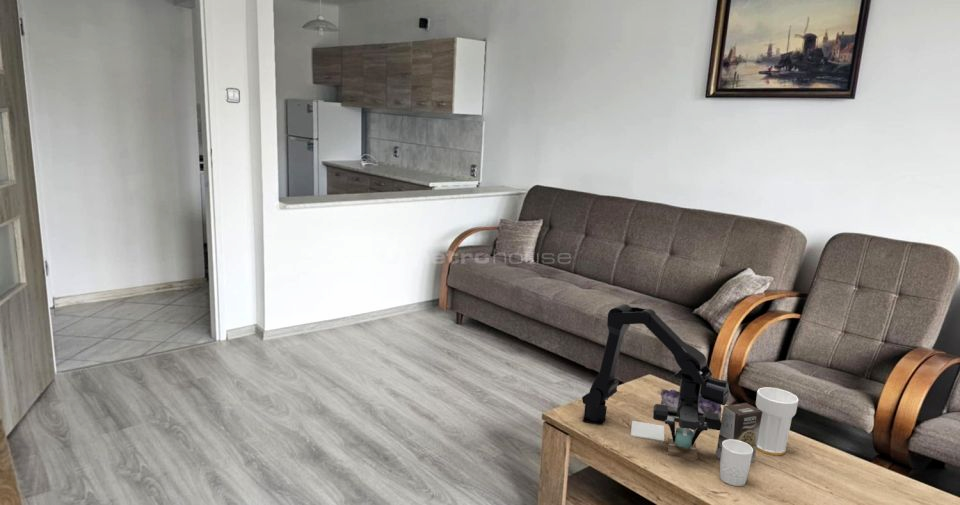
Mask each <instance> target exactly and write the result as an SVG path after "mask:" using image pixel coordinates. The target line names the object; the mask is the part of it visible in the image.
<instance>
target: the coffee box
mask: <svg viewBox="0 0 960 505" xmlns="http://www.w3.org/2000/svg"><path fill="white" fill-rule="evenodd" d="M722 408H723V409H722V412H721V429H720V430H719V432H718V440H717V446H716V452H715V456H716V457H717V458H718V459H720V460H721V451H722V442H723V441H724V440H728V439H734V440H739V441H742V442H745V443H747V444H749V445H750V446H751V447H752V448H753V454H752V458H751V463H754V462H755V459H756V458H755V457H756V453H757V449H756V447H757V441H758V435H759V429H760V423H761V417H762V411H761V410H759V409H758V408H757V407H755V406H753V405H752V404H749V403H748V402H742V403H736V404H730V405H723V406H722Z"/></svg>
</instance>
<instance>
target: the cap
mask: <svg viewBox="0 0 960 505" xmlns="http://www.w3.org/2000/svg"><path fill="white" fill-rule="evenodd" d="M692 437H693V430H691V429H688V428H681V427H677V428H675V442H674V443H675V444H676V445H677V446H680V447H683V448H689V447H691V444H692Z"/></svg>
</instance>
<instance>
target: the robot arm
mask: <svg viewBox="0 0 960 505" xmlns="http://www.w3.org/2000/svg"><path fill="white" fill-rule="evenodd" d="M606 319H607V320H606V326H607V330H608V335H607V339H606V343H605V348H604V352H603V356H602V360H601V363H600V368H599V372H598V374H597V376H596V377H595V379H594V380H593V382H592V384H591V386H590V388H589V392H588V393H586V394H585V395H583V396H582V397H581V400H582V404H584V411H583V412H584V413H583V418H582V422H583V423H589V424H595V425H602V426H603V425H604V422H606V420H607V419H606V418H607V411H608V406H607V405H606V401H607V400H609V399H610V398H611V397H612V396H613V395H614V394H616V393H617V392H618V386H619V382H620V380H617V379H616V377H615V371H616V367H617V364H618V360H619V355H620V351H621V348H622V344H623V340H624V335H625V334H626V332H627V330H628V329H629V328H630V325H637V324H638V325H643V326H645V327H646V328H647V329H648V331H650V332H651V333H652V334H653V335H654V336H655V337H656V339H658V341H660V343H662V345H663V346H665V347H666V349H667V350H668V351H670V353H671V354H672V355H673V358H674V360H675V363H676V364H677V366H679V368H680V370H678V371H677V372H675V373H674V374H673V377H674V378H677V379H680V383H679V391H678V392H679V398H678V406H677V411H672V410H668V406H667V405H660V404H661V403H655V404H654V405H653V409H652V410H653V411H652V412H653V413H652V419H653V420H655V421H659V422H664V424H665V425H667V426H668V427H669V430H670V432H671V439H673V442H675V434H676V419H675V418H679V420H678V426H679V427H681V428H688V429H690V430H691V431H692V432H693V437H692V444H691V445H692V446H693V444H694V443H696V440H697V439H698V437H699V436H700V434H701V433H703V432H704V431H708V430H712V431H713V430H714V431H720V429H721V420H722V418H720V416H719V414H716V413H710V412H706V413H700V412H699V411H698V405H699V397H700V395H701V397H702V398H703V399H704V400H707V401H711V402H714V403H717V404H720V405H721V406H726V404H727V403H728V400H729V396H730V389H729V388H730V386H729V381H728V380H724V379H718V378H714V377H712V376H713V372H712V370H711V369H710V367H709V366H708V364H707V358H706V355H705V354H704V353H702V352H701V351H700V350H698V348H696V347H694V346H692V345H690V344H688V343H686V342H685V341H683V339H681V338H680V336H679V335H677V333H675V332H674V330H673V329H672V328H671V327H669V325H667V324H666V323H665V321H663V319H661V318H660V317H659V315H657V314H656V311H655V310H653V309H652V308H643V307H638V306H630V305H628V304H627V303H625V304H624V303H623V304H620V305H617V306H616V307H613V308H612V309H610V310H609V311H608V313H607V318H606ZM700 372H701V373H700ZM679 427H678V428H679Z"/></svg>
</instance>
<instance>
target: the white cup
mask: <svg viewBox="0 0 960 505" xmlns="http://www.w3.org/2000/svg"><path fill="white" fill-rule="evenodd" d="M752 454H753V448H752V447H751V446H750V445H749V444H747V443H745V442H742V441H739V440H734V439H728V440H724V441H723V442H722V451H721V459H720V463H719V466H720V467H719V478H720V480H721V481H722V482H724V483H725V484H727V485H731V486H735V487H742V486H745V484H746V483H747V478H748V474H749V472H750V471H749V470H750V466H751V463H752V462H751V458H752Z"/></svg>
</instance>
